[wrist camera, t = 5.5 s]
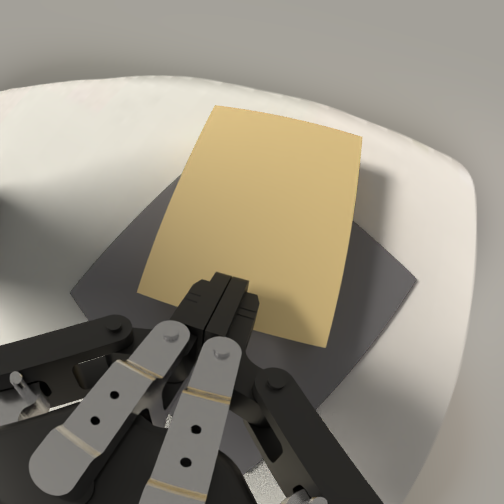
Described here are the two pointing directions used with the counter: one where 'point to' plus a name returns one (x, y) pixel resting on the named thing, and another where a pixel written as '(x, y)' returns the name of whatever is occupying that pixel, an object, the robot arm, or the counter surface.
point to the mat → (260, 344)
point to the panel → (262, 219)
